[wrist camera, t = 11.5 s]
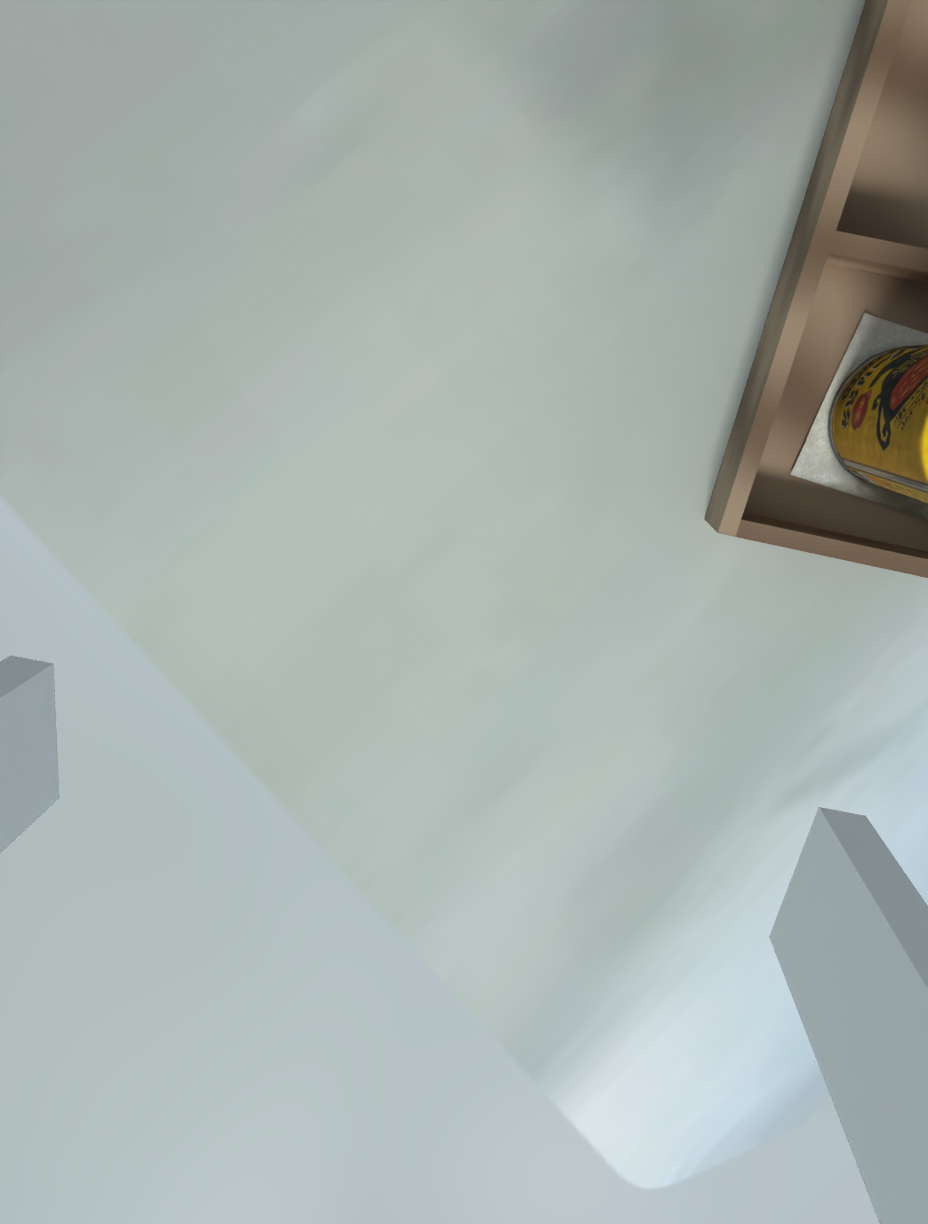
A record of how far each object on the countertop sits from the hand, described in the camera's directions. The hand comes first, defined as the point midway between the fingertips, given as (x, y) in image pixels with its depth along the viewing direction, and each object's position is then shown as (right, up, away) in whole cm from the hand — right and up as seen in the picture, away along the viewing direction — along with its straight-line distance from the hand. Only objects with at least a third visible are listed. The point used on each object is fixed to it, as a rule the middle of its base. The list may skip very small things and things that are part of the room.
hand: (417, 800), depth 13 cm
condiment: (+21, +12, +21) cm, 32 cm away
